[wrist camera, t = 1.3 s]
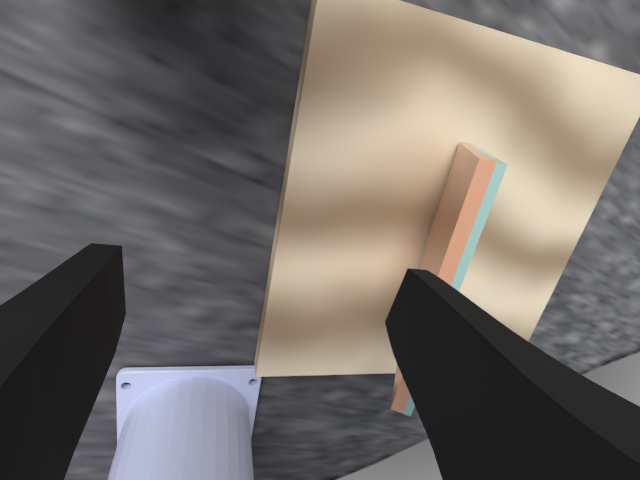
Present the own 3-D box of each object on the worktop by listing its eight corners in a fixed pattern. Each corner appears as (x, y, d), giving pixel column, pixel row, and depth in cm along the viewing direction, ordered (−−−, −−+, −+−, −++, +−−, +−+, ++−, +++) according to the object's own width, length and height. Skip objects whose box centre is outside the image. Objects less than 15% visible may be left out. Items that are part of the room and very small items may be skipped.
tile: (404, 307, 22) (417, 311, 22) (390, 409, 14) (410, 416, 14) (458, 141, 18) (474, 145, 18) (479, 158, 11) (507, 165, 11)
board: (502, 358, 28) (513, 370, 27) (254, 362, 22) (255, 376, 21) (635, 79, 21) (657, 80, 20) (314, -18, 15) (321, -24, 14)
